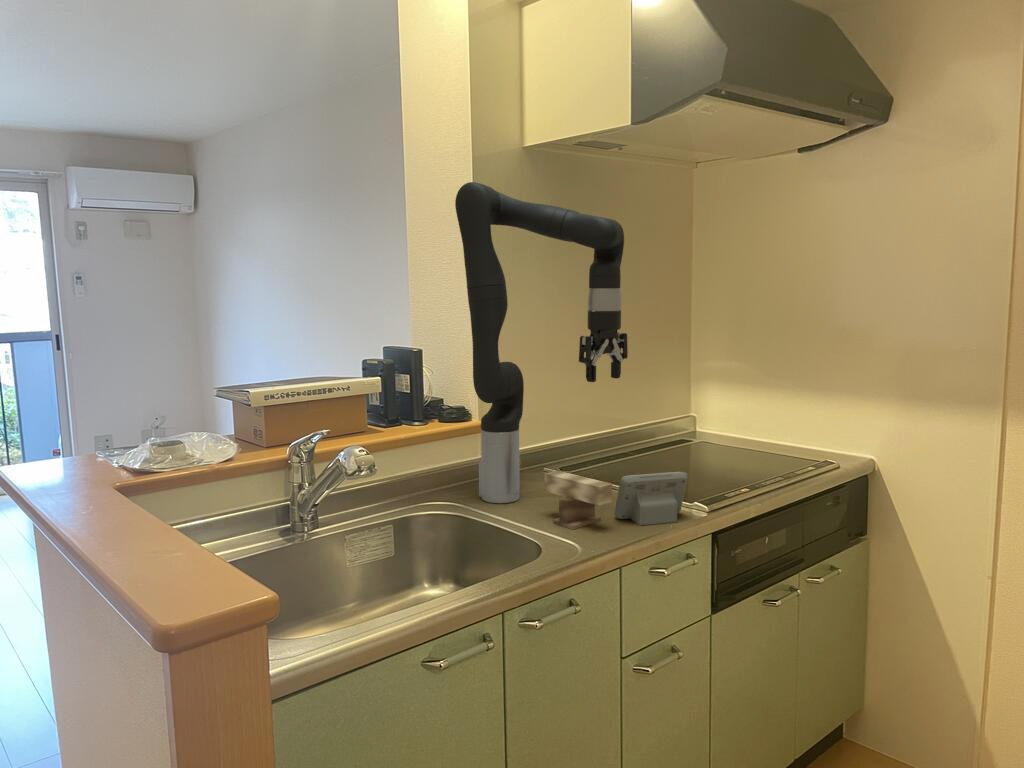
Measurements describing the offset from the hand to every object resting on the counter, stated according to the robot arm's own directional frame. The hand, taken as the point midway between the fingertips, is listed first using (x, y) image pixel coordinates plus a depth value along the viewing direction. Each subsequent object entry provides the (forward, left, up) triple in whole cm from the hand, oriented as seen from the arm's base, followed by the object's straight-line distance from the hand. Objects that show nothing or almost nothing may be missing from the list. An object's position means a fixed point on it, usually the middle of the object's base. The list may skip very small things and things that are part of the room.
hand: (603, 379), depth 178 cm
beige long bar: (+3, -12, -24) cm, 27 cm away
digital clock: (+13, +2, -30) cm, 33 cm away
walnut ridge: (+3, -12, -30) cm, 33 cm away
